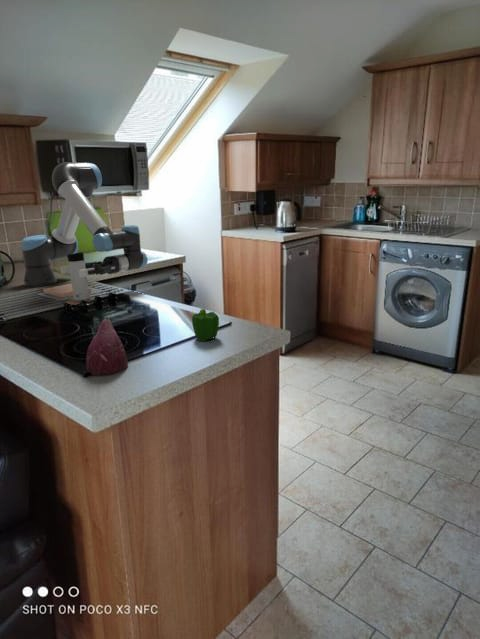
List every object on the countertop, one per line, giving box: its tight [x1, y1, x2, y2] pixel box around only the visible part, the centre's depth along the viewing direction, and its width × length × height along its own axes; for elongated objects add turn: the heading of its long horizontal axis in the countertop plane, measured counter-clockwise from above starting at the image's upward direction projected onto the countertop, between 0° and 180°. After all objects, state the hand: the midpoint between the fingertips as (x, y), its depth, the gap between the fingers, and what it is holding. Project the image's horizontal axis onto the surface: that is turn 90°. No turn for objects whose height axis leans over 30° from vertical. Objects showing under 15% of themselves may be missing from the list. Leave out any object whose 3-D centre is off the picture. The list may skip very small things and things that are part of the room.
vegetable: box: [85, 316, 129, 377], centre depth 122 cm, size 10×10×15 cm
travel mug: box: [67, 252, 91, 303], centre depth 187 cm, size 6×7×20 cm
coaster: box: [65, 296, 95, 306], centre depth 190 cm, size 12×12×1 cm
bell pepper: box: [191, 308, 220, 341], centre depth 142 cm, size 8×8×10 cm
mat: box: [36, 287, 105, 301], centre depth 208 cm, size 22×20×1 cm
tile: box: [43, 283, 92, 298], centre depth 206 cm, size 2×16×14 cm
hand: (70, 272), depth 184 cm, fingers open, 13 cm apart
